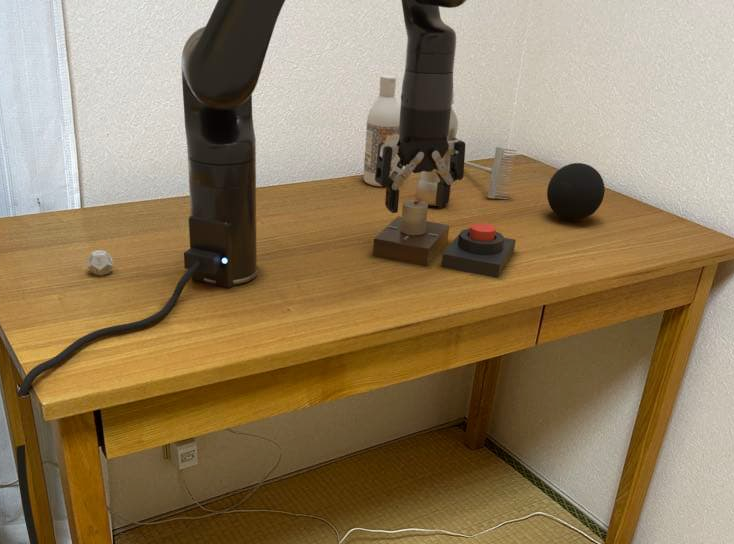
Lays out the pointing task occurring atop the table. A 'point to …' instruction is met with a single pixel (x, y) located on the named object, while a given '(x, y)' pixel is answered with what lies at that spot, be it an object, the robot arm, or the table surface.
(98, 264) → the game die
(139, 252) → the table surface
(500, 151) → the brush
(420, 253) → the dial panel
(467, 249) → the button housing
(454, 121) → the plastic bottle
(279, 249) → the table surface
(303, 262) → the table surface
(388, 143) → the bath foam
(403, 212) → the lock dial
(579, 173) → the speaker
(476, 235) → the red push button
